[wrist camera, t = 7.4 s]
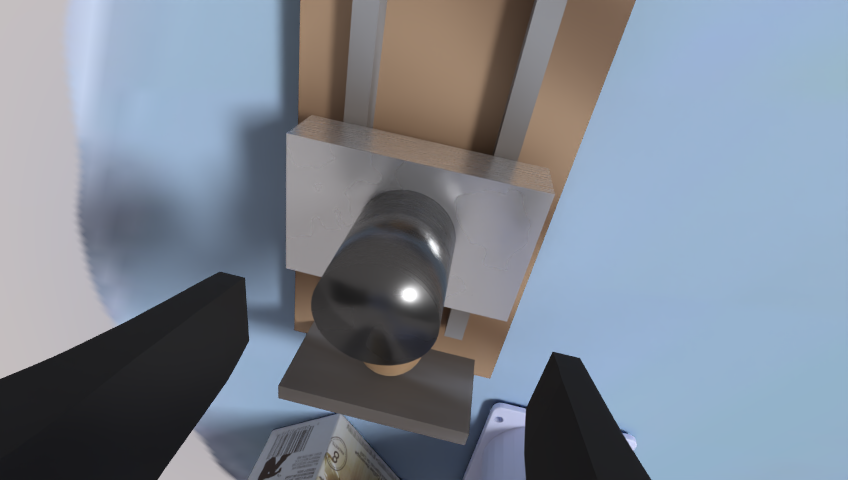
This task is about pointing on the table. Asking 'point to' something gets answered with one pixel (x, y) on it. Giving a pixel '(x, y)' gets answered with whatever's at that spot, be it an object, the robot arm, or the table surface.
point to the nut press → (453, 126)
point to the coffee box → (319, 453)
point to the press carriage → (405, 234)
